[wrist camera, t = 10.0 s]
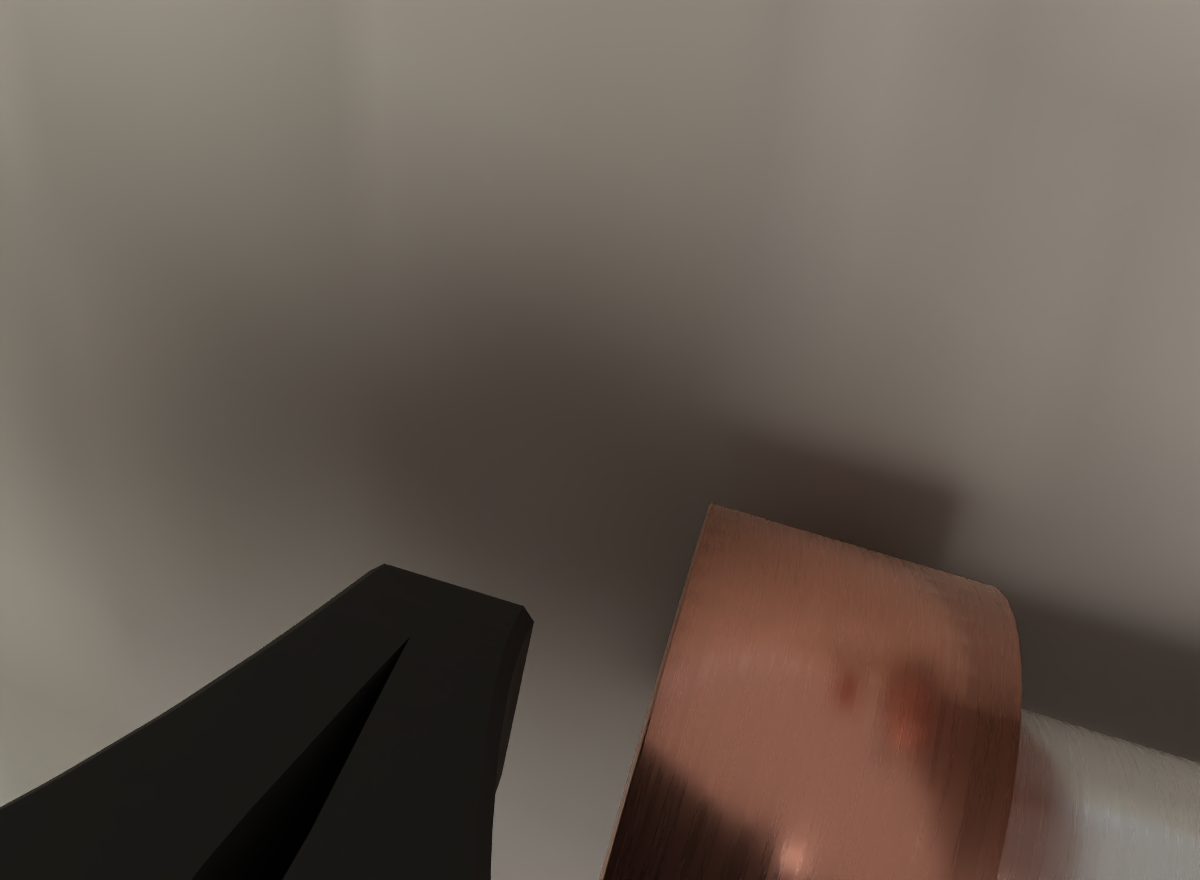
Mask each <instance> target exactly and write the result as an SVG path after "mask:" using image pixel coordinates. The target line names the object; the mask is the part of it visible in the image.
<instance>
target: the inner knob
mask: <svg viewBox="0 0 1200 880" xmlns="http://www.w3.org/2000/svg"><path fill="white" fill-rule="evenodd" d="M599 880H1200V763H1198V762H1195V761H1192V760H1188V759H1185V758H1182V757H1178V756H1175V755H1172V754H1169V753H1165V752H1162V751H1159V750H1156V749H1152V748H1149V747H1146V746H1142V745H1139V744H1136V743H1133V742H1129V741H1126V740H1123V739H1119V738H1116V737H1113V736H1110V735H1106V734H1103V733H1100V732H1096V731H1093V730H1090V729H1087V728H1083V727H1080V726H1077V725H1074V724H1070V723H1067V722H1064V721H1060V720H1057V719H1054V718H1051V717H1047V716H1044V715H1041V714H1037V713H1034V712H1031V711H1028V710H1024V709H1022V670H1021V655H1020V646H1019V637H1018V632H1017V628H1016V623H1015V618H1014V615H1013V613H1012V610H1011V607H1010V605H1009V602H1008V601H1007V599H1006V598H1005V596H1004V595H1003V593H1002V592H1001V591H999V590H998V589H997V588H995V587H994V586H991V585H987V584H984V583H981V582H977V581H974V580H970V579H967V578H964V577H960V576H957V575H954V574H950V573H947V572H943V571H940V570H937V569H933V568H930V567H926V566H923V565H920V564H916V563H913V562H909V561H906V560H903V559H899V558H896V557H893V556H889V555H886V554H882V553H879V552H876V551H872V550H869V549H865V548H862V547H859V546H855V545H852V544H848V543H845V542H842V541H838V540H835V539H831V538H828V537H825V536H821V535H818V534H815V533H811V532H808V531H804V530H801V529H798V528H794V527H791V526H787V525H784V524H781V523H777V522H774V521H770V520H767V519H764V518H760V517H757V516H754V515H750V514H747V513H743V512H740V511H737V510H733V509H730V508H726V507H723V506H720V505H716V504H713V503H710V505H709V508H708V511H707V514H706V517H705V520H704V523H703V526H702V529H701V532H700V535H699V539H698V542H697V545H696V548H695V552H694V555H693V558H692V561H691V565H690V568H689V571H688V575H687V578H686V581H685V585H684V588H683V591H682V595H681V598H680V601H679V605H678V608H677V611H676V615H675V618H674V621H673V625H672V628H671V632H670V635H669V638H668V642H667V645H666V648H665V652H664V655H663V659H662V662H661V665H660V669H659V672H658V676H657V679H656V683H655V686H654V689H653V693H652V696H651V700H650V703H649V707H648V710H647V713H646V717H645V720H644V724H643V727H642V731H641V734H640V738H639V741H638V744H637V748H636V751H635V755H634V758H633V762H632V765H631V769H630V772H629V776H628V779H627V783H626V786H625V790H624V793H623V797H622V800H621V804H620V807H619V811H618V814H617V818H616V821H615V825H614V828H613V832H612V835H611V839H610V842H609V846H608V850H607V853H606V857H605V860H604V864H603V867H602V871H601V874H600V878H599Z"/></svg>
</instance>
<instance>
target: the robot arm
mask: <svg viewBox="0 0 1200 880" xmlns="http://www.w3.org/2000/svg"><path fill="white" fill-rule="evenodd" d="M533 623H534V621H533V619H532V618H531V617H530V615H529V614H528V612H527V611H526V609H525V608H524V606H521V605H518V604H515V603H511V602H508V601H505V600H502V599H498V598H495V597H492V596H488V595H485V594H482V593H479V592H475V591H472V590H469V589H466V588H462V587H459V586H456V585H452V584H449V583H446V582H443V581H439V580H436V579H433V578H429V577H426V576H423V575H420V574H416V573H413V572H410V571H407V570H403V569H400V568H397V567H393V566H390V565H387V564H383V565H381V566H379V567H377V568H375V569H373V570H371V571H369V572H368V573H366V574H365V575H364V576H362V577H361V578H360V579H358V580H357V581H356V582H354V583H353V584H351V585H350V586H349V587H347V588H346V589H345V590H343V591H342V592H340V593H339V594H338V595H336V596H335V597H334V598H332V599H331V600H330V601H328V602H327V603H325V604H324V605H323V606H321V607H320V608H319V609H317V610H316V611H314V612H313V613H312V614H310V615H309V616H307V617H306V618H305V619H303V620H302V621H300V622H299V623H298V624H296V625H295V626H293V627H292V628H290V629H289V630H288V631H286V632H285V633H283V634H282V635H280V636H279V637H278V638H276V639H275V640H273V641H272V642H270V643H269V644H267V645H266V646H265V647H263V648H262V649H260V650H259V651H257V652H256V653H255V654H253V655H252V656H250V657H249V658H247V659H245V660H244V661H242V662H241V663H239V664H238V665H236V666H235V667H233V668H232V669H230V670H229V671H227V672H226V673H224V674H223V675H221V676H220V677H218V678H217V679H215V680H214V681H212V682H211V683H209V684H208V685H206V686H204V687H203V688H201V689H200V690H198V691H197V692H195V693H194V694H192V695H191V696H189V697H188V698H186V699H185V700H183V701H182V702H180V703H179V704H177V705H175V706H174V707H172V708H171V709H169V710H168V711H166V712H164V713H163V714H161V715H160V716H158V717H156V718H155V719H153V720H151V721H150V722H148V723H146V724H145V725H143V726H141V727H140V728H138V729H136V730H134V731H133V732H131V733H129V734H128V735H126V736H124V737H123V738H121V739H119V740H118V741H116V742H114V743H113V744H111V745H109V746H107V747H106V748H104V749H102V750H101V751H99V752H97V753H96V754H94V755H92V756H91V757H89V758H87V759H86V760H84V761H82V762H80V763H79V764H77V765H75V766H74V767H72V768H70V769H69V770H67V771H65V772H64V773H62V774H60V775H58V776H57V777H55V778H53V779H51V780H49V781H48V782H46V783H44V784H42V785H40V786H39V787H37V788H35V789H33V790H31V791H29V792H28V793H26V794H24V795H22V796H20V797H18V798H17V799H15V800H13V801H11V802H9V803H7V804H6V805H4V806H2V807H0V880H491V851H492V828H493V816H494V803H495V793H496V790H497V787H498V784H499V781H500V778H501V775H502V771H503V766H504V761H505V756H506V751H507V747H508V742H509V737H510V732H511V728H512V723H513V718H514V713H515V709H516V704H517V699H518V694H519V690H520V685H521V680H522V675H523V671H524V666H525V661H526V656H527V652H528V647H529V642H530V637H531V633H532V628H533Z"/></svg>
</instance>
